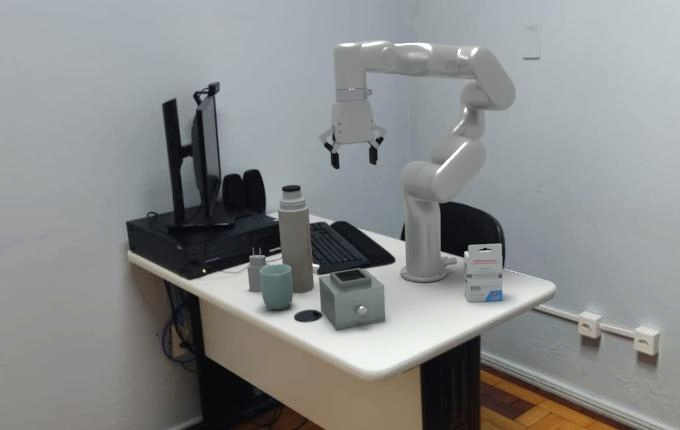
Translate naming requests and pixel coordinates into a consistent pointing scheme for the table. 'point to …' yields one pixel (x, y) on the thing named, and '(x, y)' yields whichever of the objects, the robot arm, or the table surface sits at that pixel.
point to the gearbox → (352, 298)
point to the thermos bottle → (296, 238)
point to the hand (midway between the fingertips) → (354, 166)
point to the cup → (276, 286)
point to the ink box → (483, 273)
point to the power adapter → (255, 271)
